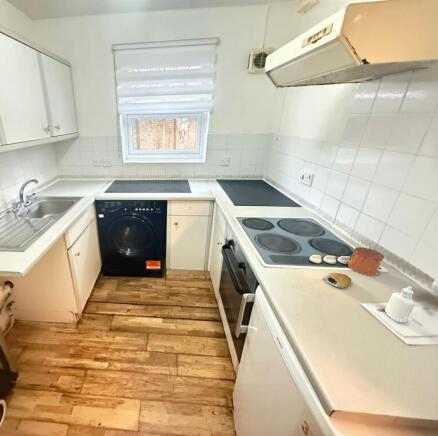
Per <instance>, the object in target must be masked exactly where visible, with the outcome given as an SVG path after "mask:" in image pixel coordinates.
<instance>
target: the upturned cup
mask: <svg viewBox="0 0 438 436" xmlns="http://www.w3.org/2000/svg"><path fill="white" fill-rule="evenodd" d="M384 259H385V255H384V254H383V253H382V252H380V251H377V250H375V249H372V248H368V247H363V246H358V247H355V248H354V250H353V252H352V256H351V258H350V261H348V263H347V266H348V268H349V269H350V270H352V271H354V272H356V273H358V274H361V275H365V276H370V277H374V276H377V275H378V274H379V269H380V267H381V264H382V263H383V260H384Z"/></svg>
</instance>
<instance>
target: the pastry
mask: <svg viewBox="0 0 438 436" xmlns="http://www.w3.org/2000/svg"><path fill="white" fill-rule="evenodd" d="M323 279H324V282H326V283H327V284H329V285H331V286H333V287H335V288H338V289H344V288H347V287H348V286H349V285H350V284H351V282H352V278H351V277H350V276H348V275H347V274H345V273H340V272H330V273H327V275H326V276H324V277H323Z"/></svg>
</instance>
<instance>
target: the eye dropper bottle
mask: <svg viewBox="0 0 438 436" xmlns="http://www.w3.org/2000/svg"><path fill="white" fill-rule="evenodd" d="M412 289H413V287H412V286H410V285H408V286H407V287H403V288H402V289H401V290H400V292H393V293H392V294H391V296H390V298H389V300H388V302H387V304H386V305H385V308H384V312H385V313H386V314H387V316H388V317H390V318H391V319H392V320H394V321H395V322H397V323H402V324H403V323H406V322H407V321H408V319H409V317H410V315H411V313H412V312H413V310H414V308H415V306H416V303H415V302H414V300H413V295H414V294H415V292H414V291H413V290H412Z"/></svg>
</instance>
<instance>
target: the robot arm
mask: <svg viewBox="0 0 438 436" xmlns="http://www.w3.org/2000/svg"><path fill="white" fill-rule="evenodd" d="M431 289H432V291H434V292H435V293H436V294H437V293H438V277H437V278H436V279H435V280H434V281H433V282H432V284H431Z"/></svg>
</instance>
